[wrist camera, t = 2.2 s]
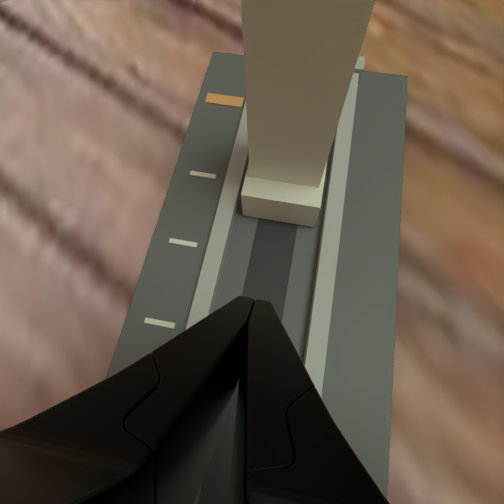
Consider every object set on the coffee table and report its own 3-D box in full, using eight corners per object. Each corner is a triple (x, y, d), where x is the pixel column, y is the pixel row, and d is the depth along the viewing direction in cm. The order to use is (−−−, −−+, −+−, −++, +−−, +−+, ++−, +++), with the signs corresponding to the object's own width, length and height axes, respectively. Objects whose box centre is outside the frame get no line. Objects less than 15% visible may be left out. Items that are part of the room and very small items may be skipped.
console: (368, 624, 13) (389, 670, 11) (65, 543, 14) (30, 571, 12) (399, 92, 22) (414, 61, 20) (215, 68, 23) (211, 36, 21)
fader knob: (313, 227, 17) (427, -102, 6) (242, 215, 17) (210, -120, 6) (325, 145, 19) (431, -234, 7) (261, 136, 19) (263, -242, 8)
